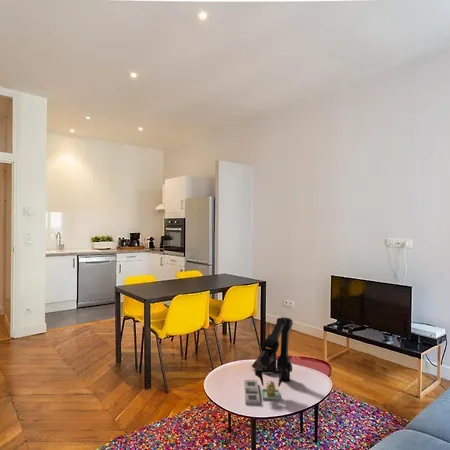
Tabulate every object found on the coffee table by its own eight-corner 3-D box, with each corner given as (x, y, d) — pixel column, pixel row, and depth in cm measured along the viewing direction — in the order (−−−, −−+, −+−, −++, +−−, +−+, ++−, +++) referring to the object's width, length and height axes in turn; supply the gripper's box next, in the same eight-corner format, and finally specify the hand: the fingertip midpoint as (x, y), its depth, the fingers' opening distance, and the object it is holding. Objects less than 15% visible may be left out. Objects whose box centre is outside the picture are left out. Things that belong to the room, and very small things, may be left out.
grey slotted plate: (257, 384, 222) (257, 380, 222) (259, 404, 198) (259, 399, 198) (244, 383, 222) (244, 379, 222) (245, 403, 198) (245, 399, 198)
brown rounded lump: (268, 364, 234) (278, 353, 246) (248, 360, 242) (259, 350, 254) (270, 378, 235) (280, 366, 247) (250, 373, 243) (261, 362, 256)
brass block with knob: (274, 393, 210) (274, 381, 210) (275, 397, 205) (275, 384, 205) (266, 392, 210) (266, 380, 210) (267, 396, 205) (267, 384, 205)
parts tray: (278, 391, 213) (278, 389, 212) (280, 400, 203) (280, 397, 202) (261, 391, 213) (261, 388, 213) (262, 399, 203) (262, 397, 203)
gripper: (285, 354, 215) (285, 380, 215) (254, 354, 216) (254, 379, 216) (288, 362, 204) (287, 389, 204) (255, 361, 204) (255, 388, 205)
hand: (270, 386), depth 208 cm, fingers open, 9 cm apart
